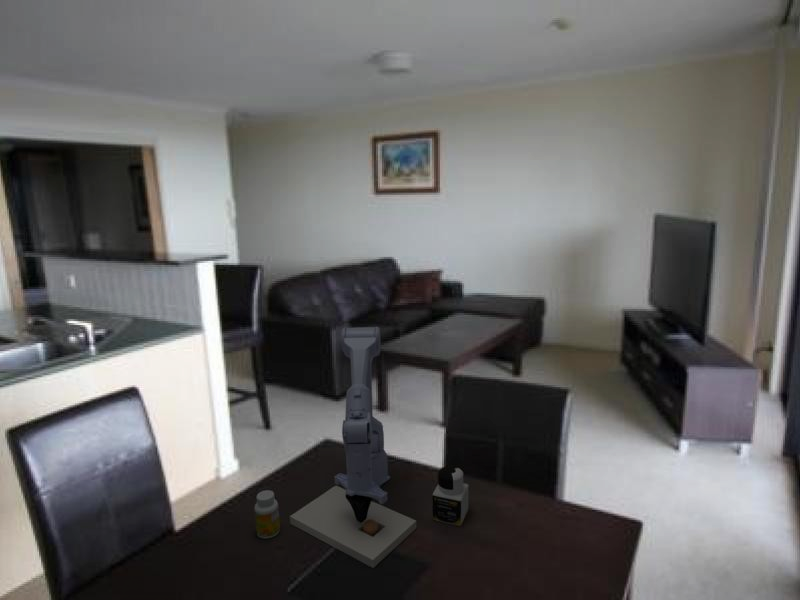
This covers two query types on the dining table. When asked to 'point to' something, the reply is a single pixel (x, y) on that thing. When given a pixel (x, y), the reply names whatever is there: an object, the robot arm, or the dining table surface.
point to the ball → (370, 527)
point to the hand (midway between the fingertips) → (361, 519)
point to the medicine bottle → (450, 496)
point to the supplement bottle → (267, 515)
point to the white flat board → (353, 526)
